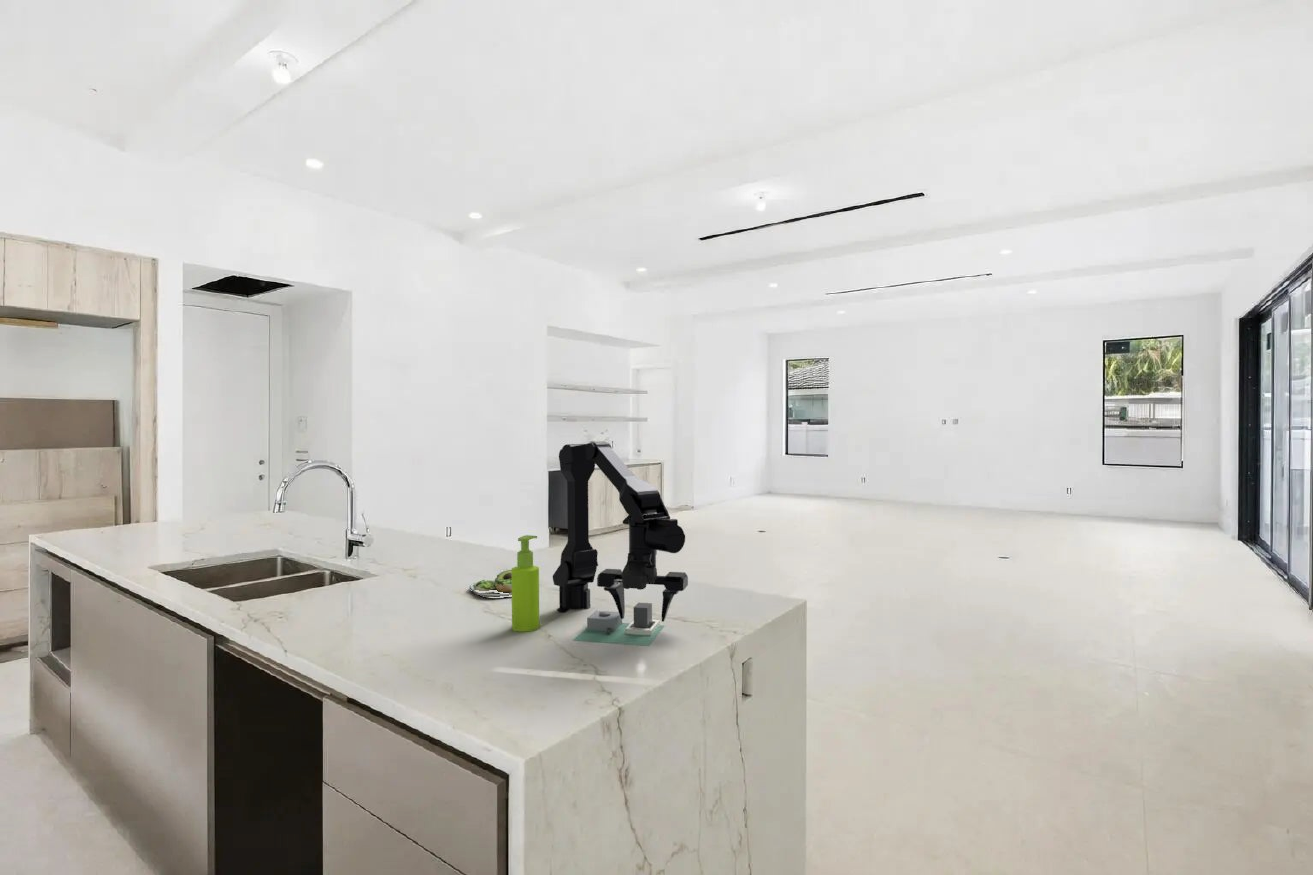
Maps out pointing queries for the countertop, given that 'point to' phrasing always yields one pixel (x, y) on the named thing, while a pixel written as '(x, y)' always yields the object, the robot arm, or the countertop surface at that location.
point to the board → (617, 630)
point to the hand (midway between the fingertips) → (642, 619)
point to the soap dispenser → (525, 589)
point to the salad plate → (495, 585)
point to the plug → (643, 615)
